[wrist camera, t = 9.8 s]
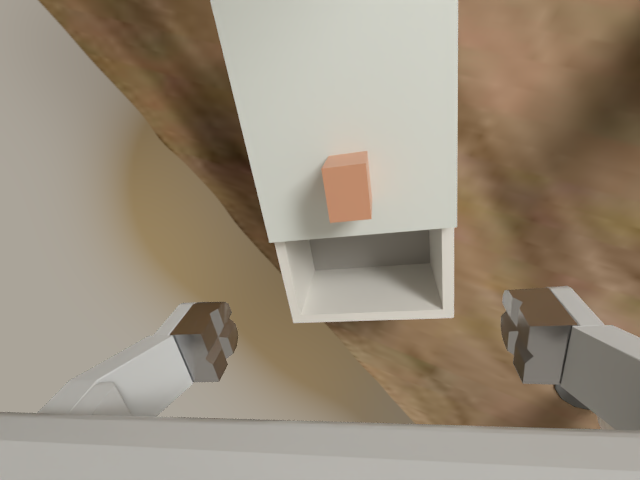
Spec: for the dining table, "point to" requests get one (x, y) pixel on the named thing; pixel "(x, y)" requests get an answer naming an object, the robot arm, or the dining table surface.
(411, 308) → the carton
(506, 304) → the robot arm
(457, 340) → the dining table surface
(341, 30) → the lid
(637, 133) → the dining table surface
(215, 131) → the dining table surface
